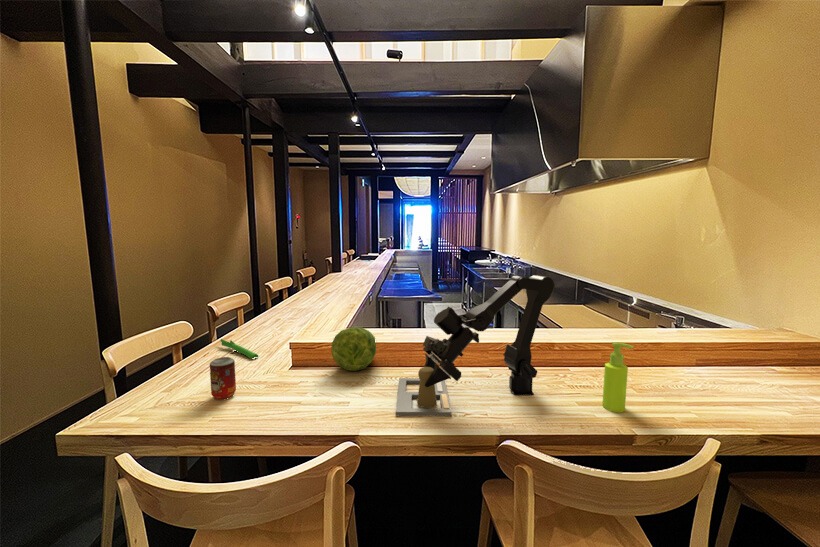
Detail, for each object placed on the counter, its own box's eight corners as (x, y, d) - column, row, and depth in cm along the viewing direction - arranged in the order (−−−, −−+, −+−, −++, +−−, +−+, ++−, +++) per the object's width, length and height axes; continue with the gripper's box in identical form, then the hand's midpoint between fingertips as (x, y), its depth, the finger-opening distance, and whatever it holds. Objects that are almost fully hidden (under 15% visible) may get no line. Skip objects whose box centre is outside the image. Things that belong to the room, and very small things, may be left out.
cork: (416, 407, 104) (416, 372, 103) (417, 398, 110) (417, 364, 109) (437, 407, 104) (437, 372, 102) (436, 398, 110) (436, 364, 108)
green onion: (259, 360, 148) (226, 343, 166) (259, 352, 148) (225, 336, 166) (248, 363, 144) (215, 345, 162) (248, 356, 144) (215, 339, 162)
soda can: (206, 400, 109) (204, 363, 108) (220, 391, 116) (219, 355, 115) (227, 402, 109) (225, 364, 107) (240, 392, 116) (239, 356, 114)
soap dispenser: (629, 415, 101) (633, 348, 99) (601, 409, 105) (605, 344, 102) (629, 406, 106) (633, 342, 104) (603, 401, 110) (606, 339, 107)
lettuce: (367, 370, 151) (392, 342, 150) (350, 383, 128) (380, 350, 127) (340, 343, 154) (365, 316, 153) (319, 351, 131) (348, 319, 130)
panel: (444, 381, 124) (444, 377, 124) (451, 416, 100) (451, 411, 100) (399, 381, 124) (399, 377, 124) (395, 415, 101) (395, 410, 100)
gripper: (428, 320, 114) (396, 356, 112) (451, 335, 97) (413, 379, 95) (451, 341, 117) (420, 376, 116) (476, 360, 100) (440, 402, 98)
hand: (422, 382), depth 106 cm, fingers closed on cork, 5 cm apart
